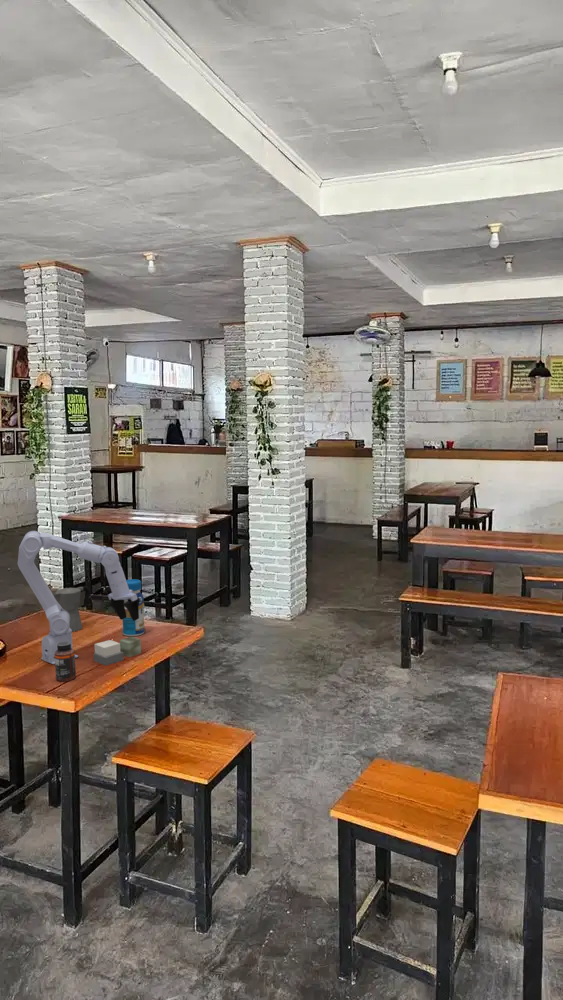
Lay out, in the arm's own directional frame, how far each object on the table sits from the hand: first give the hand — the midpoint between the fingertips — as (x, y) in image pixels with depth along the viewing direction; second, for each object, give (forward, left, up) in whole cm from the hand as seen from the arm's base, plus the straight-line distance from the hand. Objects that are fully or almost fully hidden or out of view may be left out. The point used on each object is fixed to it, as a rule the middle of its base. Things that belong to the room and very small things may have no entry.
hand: (129, 618), depth 242 cm
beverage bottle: (+13, +16, -12) cm, 23 cm away
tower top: (-10, -2, -9) cm, 14 cm away
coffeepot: (+1, +39, -12) cm, 41 cm away
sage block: (-1, -2, -12) cm, 12 cm away
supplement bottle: (-28, -6, -12) cm, 31 cm away
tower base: (-10, -2, -12) cm, 16 cm away
